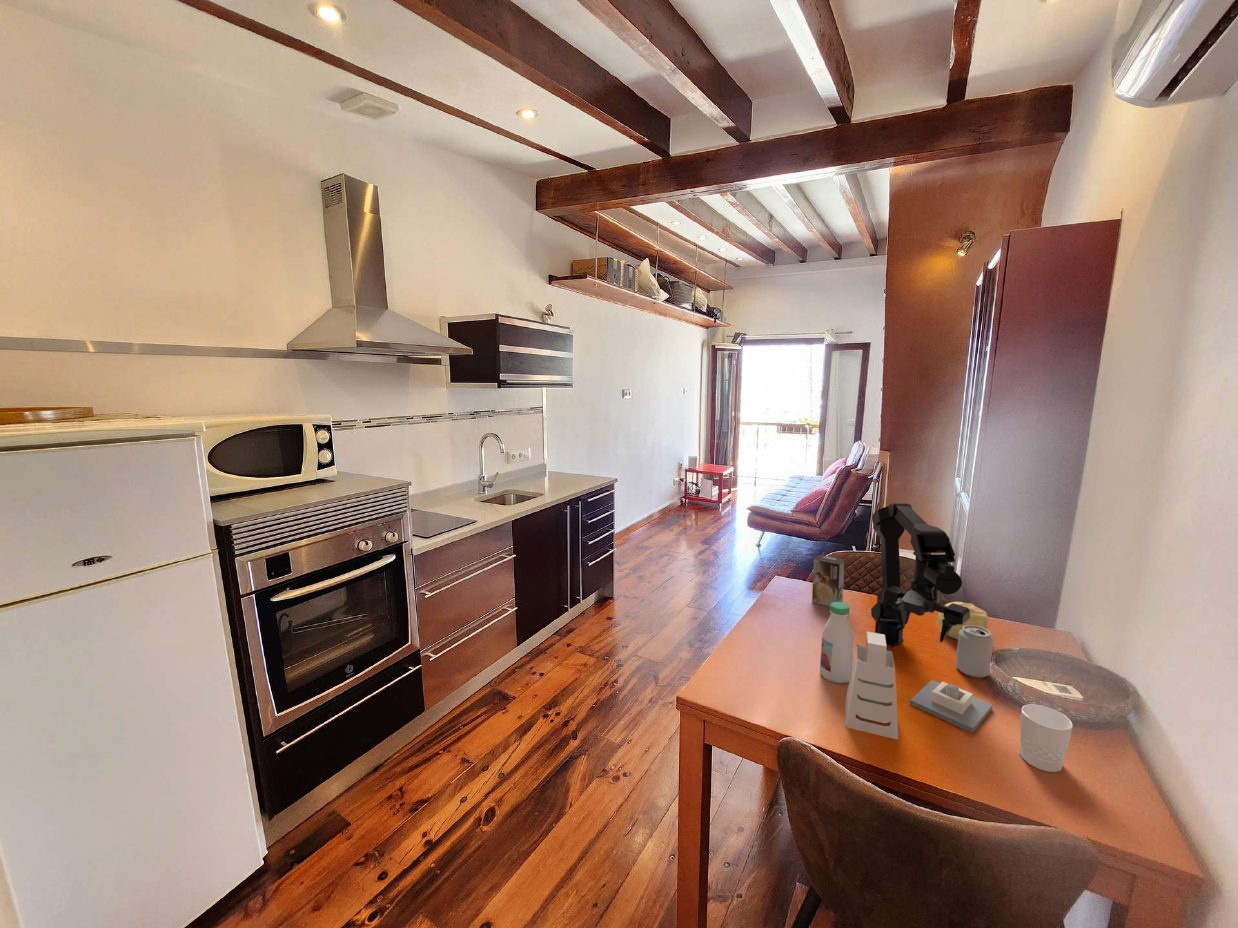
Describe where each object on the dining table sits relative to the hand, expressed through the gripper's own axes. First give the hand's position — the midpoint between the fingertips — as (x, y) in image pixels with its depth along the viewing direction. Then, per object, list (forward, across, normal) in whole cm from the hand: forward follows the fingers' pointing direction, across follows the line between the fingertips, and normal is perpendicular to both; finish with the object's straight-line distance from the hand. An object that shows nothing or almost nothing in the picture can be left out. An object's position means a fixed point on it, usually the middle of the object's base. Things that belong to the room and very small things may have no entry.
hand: (921, 634), depth 130 cm
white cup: (+12, +28, -12) cm, 33 cm away
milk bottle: (+12, -14, -16) cm, 25 cm away
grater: (+12, 0, -26) cm, 29 cm away
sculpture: (+12, -1, +33) cm, 35 cm away
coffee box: (+12, -39, +24) cm, 47 cm away
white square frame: (+11, +10, -7) cm, 16 cm away
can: (+12, +8, +14) cm, 20 cm away
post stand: (+12, +10, -7) cm, 17 cm away
